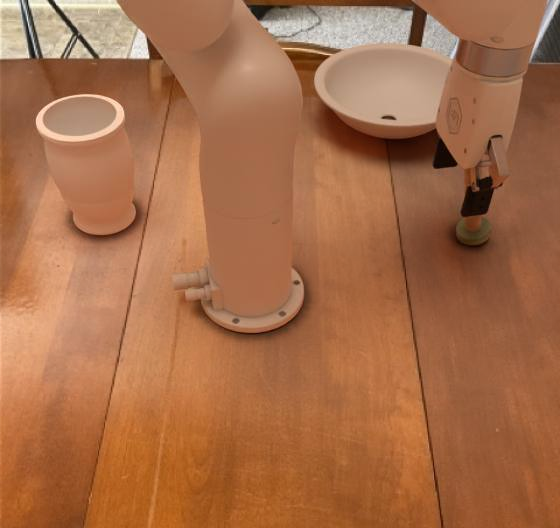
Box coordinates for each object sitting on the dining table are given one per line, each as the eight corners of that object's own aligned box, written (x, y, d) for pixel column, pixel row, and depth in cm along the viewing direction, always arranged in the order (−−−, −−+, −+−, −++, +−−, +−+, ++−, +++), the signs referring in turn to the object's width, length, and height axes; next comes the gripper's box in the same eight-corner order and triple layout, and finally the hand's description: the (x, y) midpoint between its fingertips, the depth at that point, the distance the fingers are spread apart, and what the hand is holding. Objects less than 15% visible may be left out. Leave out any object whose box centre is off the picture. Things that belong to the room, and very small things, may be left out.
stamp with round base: (456, 247, 89) (453, 157, 78) (455, 223, 91) (452, 133, 80) (492, 243, 88) (494, 152, 77) (489, 220, 90) (491, 128, 79)
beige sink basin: (281, 114, 108) (281, 74, 103) (389, 67, 118) (394, 28, 113) (387, 186, 97) (393, 145, 92) (497, 127, 106) (508, 87, 101)
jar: (159, 210, 93) (142, 109, 82) (107, 252, 88) (80, 150, 76) (102, 184, 97) (78, 84, 85) (49, 222, 92) (15, 121, 80)
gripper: (430, 16, 75) (406, 153, 88) (492, 97, 64) (454, 239, 77) (494, 10, 76) (461, 146, 89) (566, 89, 65) (516, 231, 78)
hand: (458, 189), depth 83 cm, fingers open, 9 cm apart
